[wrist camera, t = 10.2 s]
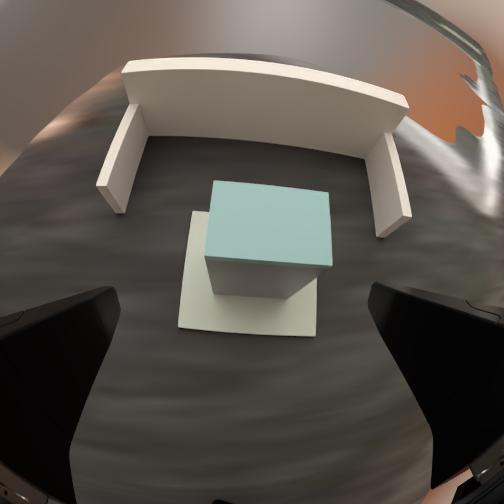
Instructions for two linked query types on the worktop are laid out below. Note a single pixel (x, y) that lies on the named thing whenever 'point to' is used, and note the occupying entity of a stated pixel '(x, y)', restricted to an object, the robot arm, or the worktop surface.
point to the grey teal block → (266, 239)
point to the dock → (260, 120)
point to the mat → (238, 299)
